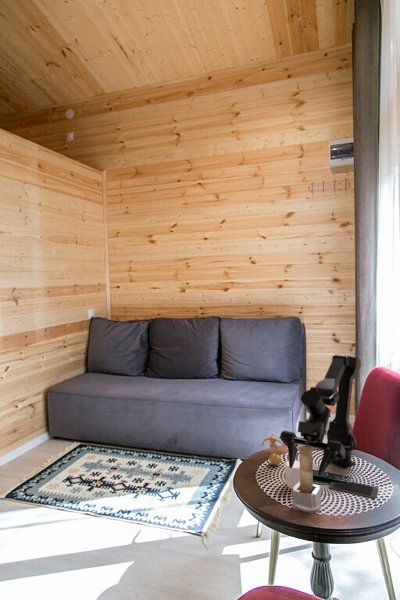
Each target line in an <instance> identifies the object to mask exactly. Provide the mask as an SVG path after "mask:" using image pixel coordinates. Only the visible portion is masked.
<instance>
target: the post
mask: <svg viewBox="0 0 400 600" xmlns="http://www.w3.org/2000/svg"><path fill="white" fill-rule="evenodd" d="M298 450H299V461H300V489H301V490H304V491H306V492H310V491H312V490H313V484H314V478H313V477H314V473H313V470H314V469H313V467H314V466H313V465H314V464H313V447H309V446H305V445H301V446H299V449H298Z"/></svg>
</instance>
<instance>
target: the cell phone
mask: <svg viewBox="0 0 400 600" xmlns="http://www.w3.org/2000/svg"><path fill="white" fill-rule="evenodd" d="M328 489H329V490H333V491H336V492H342V493H344V494H349V495H355V496H358V497H363V498H367V499H371V500H376V498H377V497H378V496H377V495H378V493H379V487H378V486H375V485H374V486H373V485H368V484H364V483H360V482H356V481H355V482H354V481H351V483H342V482H332V481H331V482H330V484H329V486H328Z"/></svg>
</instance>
